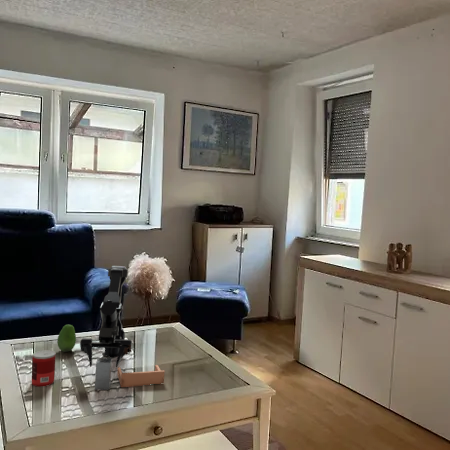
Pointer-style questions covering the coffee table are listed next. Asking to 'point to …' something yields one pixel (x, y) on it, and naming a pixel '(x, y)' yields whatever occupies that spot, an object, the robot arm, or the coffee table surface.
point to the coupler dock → (140, 377)
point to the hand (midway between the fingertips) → (103, 366)
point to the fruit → (67, 338)
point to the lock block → (103, 373)
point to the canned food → (43, 368)
